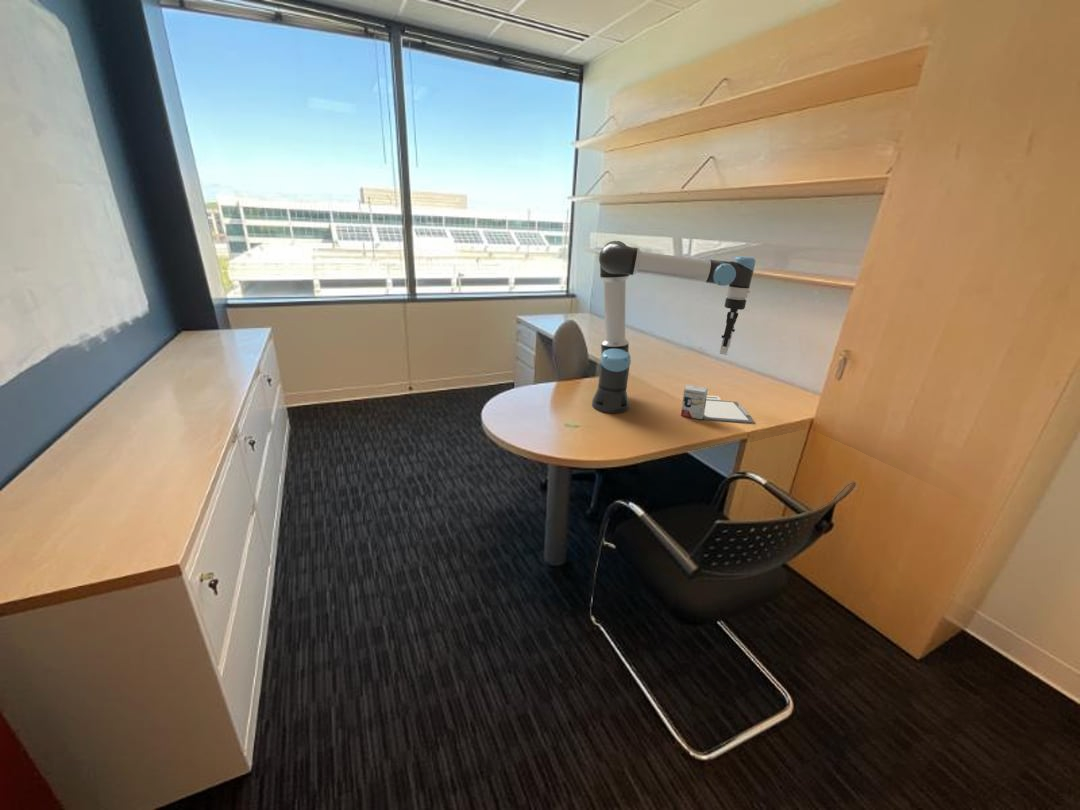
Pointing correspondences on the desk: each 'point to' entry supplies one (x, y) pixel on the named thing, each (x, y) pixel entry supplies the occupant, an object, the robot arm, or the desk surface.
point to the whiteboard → (726, 412)
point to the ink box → (694, 401)
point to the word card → (713, 398)
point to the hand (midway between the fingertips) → (724, 350)
